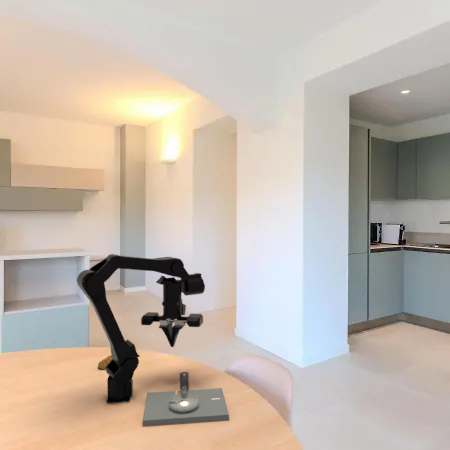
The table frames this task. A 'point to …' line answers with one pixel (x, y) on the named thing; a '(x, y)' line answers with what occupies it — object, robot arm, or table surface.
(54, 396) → the table surface
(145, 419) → the base plate
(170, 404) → the silver handled piece
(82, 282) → the robot arm
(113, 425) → the table surface
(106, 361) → the pastry
